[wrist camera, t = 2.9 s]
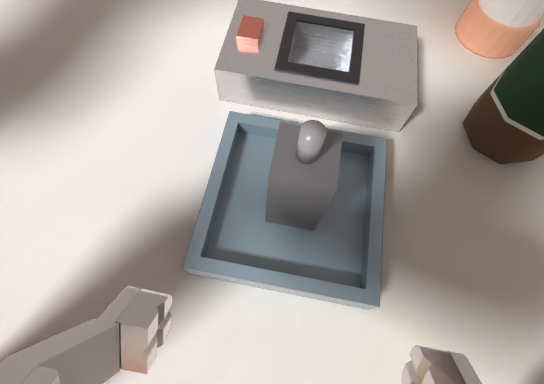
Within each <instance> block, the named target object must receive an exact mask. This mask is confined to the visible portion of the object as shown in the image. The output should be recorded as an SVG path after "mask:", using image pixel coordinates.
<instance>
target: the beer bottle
mask: <svg viewBox="0 0 544 384" xmlns="http://www.w3.org/2000/svg"><path fill="white" fill-rule="evenodd" d="M463 126H464V128H465V130H466V133H467V135H468V137H469V139H470V141H471V143H472V146H473V148H474V149H476V150H478V151H479V152H481V153H483V154H485V155H486V156H488V157H490V158H492V159H493V160H495V161H497V162H499V163H500V164H503V163H513V162H522V161H531V160H534V159H536V158H538V157H539V156H541V155H543V154H544V29H543V30H542V31H541V32H540V33H539V34H538V35H537V36H536V37H535V39H534V40H533V41H532V42H531V43H530V44H529V45H528V46H527V47H526V48H525V49H524V50H523V51H522V52H521V53H520V55H519V56H518V57H517V58H516V59H515V60H514V61H513V62H512V63H511V64H510V65H509V66H508V67H507V68H506V69H505V70H504V72H503V73H502V74H501V75H500V76H499V77H498V78H497V79H496V80H495V81H494V82H493V83H492V84H491V85H490V86H489V87H488V89H487V90H486V91H485V92H484V93H483V94H482V95H481V97H480V98H479V99H478V100H477V101H476V103H475V104H474V106H473V107H472V109H471V110H470V112H469V114H468V115H467V117H466V119H465V120H464V122H463Z"/></svg>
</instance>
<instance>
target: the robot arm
mask: <svg viewBox="0 0 544 384" xmlns="http://www.w3.org/2000/svg"><path fill="white" fill-rule="evenodd" d="M171 306H172V296H171V295H169V294H164V293H160V292H156V291H151V290H147V289H141V288H137V287H133V286H127V287H125V288H124V289H123V290H122V291H121V293H120V294H119V295H118V296H117V297H116V298H115V299H114V301H113V302H112V303H111V304H110V305H109V306H108V308H107V309H106V310H105V311H104V312H103V313H102V314H101V316H100V317H99V318H98V319H95V318H92V319H90V320H88V321H86V322H83V323H81V324H79V325H77V326H74V327H72V328H70V329H68V330H65V331H63V332H61V333H59V334H56V335H54V336H52V337H50V338H47V339H45V340H43V341H41V342H38V343H36V344H34V345H32V346H29V347H27V348H25V349H23V350H20V351H18V352H16V353H14V354H11V355H9V356H7V357H6V358H4V359H3V360H2V361H1V362H0V384H102V383H104V382H105V381H106V380H108V379H109V378H110V377H112V376H113V375H115V374H116V373H117V372H119V371H120V369H122V370H128V371H133V372H139V373H144V374H147V373H148V371H149V369H150V367H151V365H152V364H153V362H154V360H155V358H156V356H157V348H158V347H160V346H161V345H163V343H164V341H165V339H166V337H167V334H168V332H169V329H170V324H171V316H172V315H171V314H170V312H169V309H170V308H171ZM410 356H411V359H412V360H411V361H409V362H408V363H406V364H405V366H404V369H403V372H402V384H482V383H481V381H480V380H479V378H478V376H477V374H476V373H475V371H474V369H473V367H472V366H471V364H470V362H469V360H468V359H467V357H466V356H465V355H463V354H460V353H454V352H449V351H442V350H437V349H432V348H427V347H422V346H417V345H415V346H414V347H413V348H412V350H411V352H410Z"/></svg>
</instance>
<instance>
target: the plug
mask: <svg viewBox="0 0 544 384" xmlns="http://www.w3.org/2000/svg"><path fill="white" fill-rule="evenodd" d="M342 138H343V133H341V132H336V131H330V130H326V127H325V126H324V125H323V124H322V123H321V122H319V121H316V120H309V121H306V122H304V123H303V124H302V125H296V124H291V123H285V122H280V124H279V129H278V134H277V138H276V143H275V148H274V152H273V157H272V162H271V166H270V171H269V176H268V186H267V201H266V216H265V222H269V223H274V224H279V225H285V226H290V227H295V228H300V229H306V230H311V231H314V230H315V228H316V226H317V225H318V223H319V221H320V219H321V217H322V216H323V214H324V212H325V210H326V208H327V207H328V205H329V203H330V201H331V199H332V198H333V196H334V194H335V192H336V190H337V183H338V174H339V165H340V156H341V147H342Z"/></svg>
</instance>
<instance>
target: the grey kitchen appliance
mask: <svg viewBox="0 0 544 384" xmlns="http://www.w3.org/2000/svg"><path fill="white" fill-rule="evenodd" d="M214 71H215V77H216V83H217V89H218V95H219V100H223V101H228V102H234V103H240V104H245V105H251V106H256V107H262V108H268V109H273V110H279V111H285V112H290V113H296V114H301V115H307V116H313V117H318V118H324V119H330V120H335V121H341V122H346V123H352V124H358V125H363V126H369V127H374V128H380V129H386V130H391V131H397V132H399V131H400V129H401V128H402V126H403V125H404V124H405V122H406V121H407V119H408V118H409V116H410V115H411V114H412V112H413V111H414V109H415V108H416V106H417V105H418V91H417V26H414V25H407V24H401V23H395V22H389V21H383V20H377V19H371V18H365V17H359V16H353V15H347V14H341V13H335V12H329V11H323V10H317V9H310V8H304V7H298V6H292V5H286V4H280V3H274V2H268V1H262V0H238V3H237V6H236V9H235V12H234V15H233V18H232V20H231V23H230V26H229V29H228V32H227V35H226V38H225V40H224V43H223V46H222V49H221V52H220V55H219V57H218V60H217V63H216V66H215V69H214Z"/></svg>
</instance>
